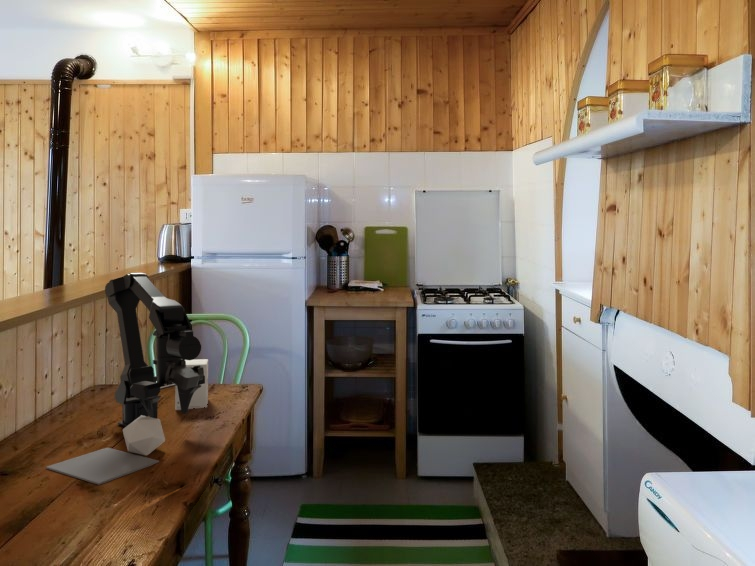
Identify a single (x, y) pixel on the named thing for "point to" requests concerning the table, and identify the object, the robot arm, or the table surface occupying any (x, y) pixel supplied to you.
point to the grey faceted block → (143, 435)
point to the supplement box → (201, 393)
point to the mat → (102, 465)
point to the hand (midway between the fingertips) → (169, 418)
